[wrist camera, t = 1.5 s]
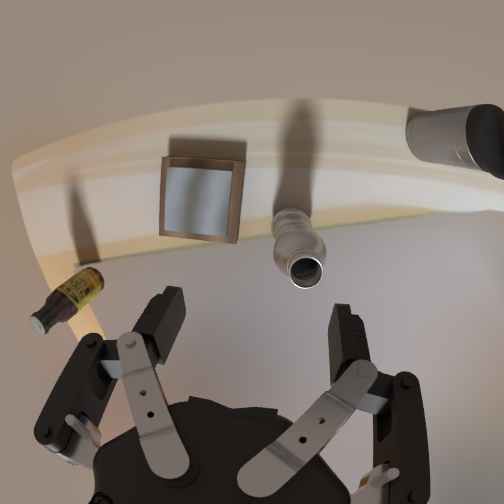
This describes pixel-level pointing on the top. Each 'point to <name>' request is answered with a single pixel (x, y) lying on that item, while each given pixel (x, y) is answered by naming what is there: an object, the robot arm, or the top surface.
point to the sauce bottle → (67, 300)
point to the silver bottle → (298, 248)
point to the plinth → (234, 195)
